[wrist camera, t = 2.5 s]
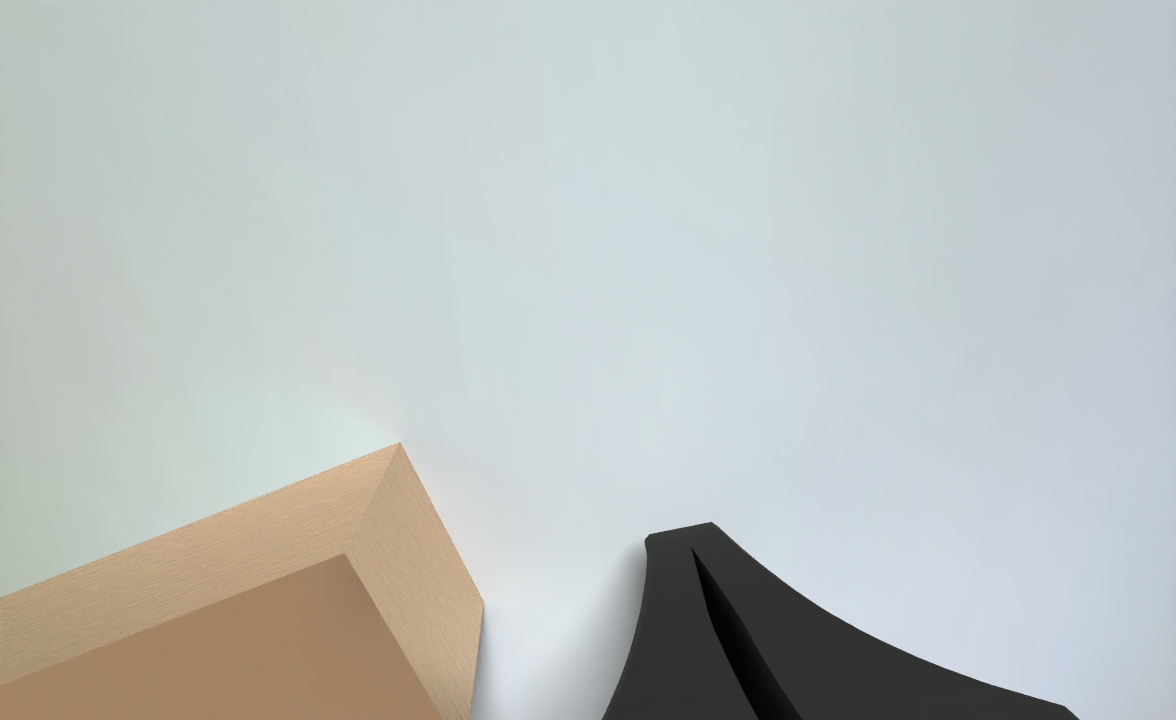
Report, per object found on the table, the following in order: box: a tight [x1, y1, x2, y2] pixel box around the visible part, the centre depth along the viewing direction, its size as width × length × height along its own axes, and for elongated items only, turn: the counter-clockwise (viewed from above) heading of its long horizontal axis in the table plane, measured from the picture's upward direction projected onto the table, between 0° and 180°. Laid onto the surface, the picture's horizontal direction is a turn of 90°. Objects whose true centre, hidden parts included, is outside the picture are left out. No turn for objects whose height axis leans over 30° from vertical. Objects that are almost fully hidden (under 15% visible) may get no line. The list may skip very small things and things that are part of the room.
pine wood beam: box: [0, 442, 484, 720], centre depth 12 cm, size 4×14×4 cm, turn 111°
